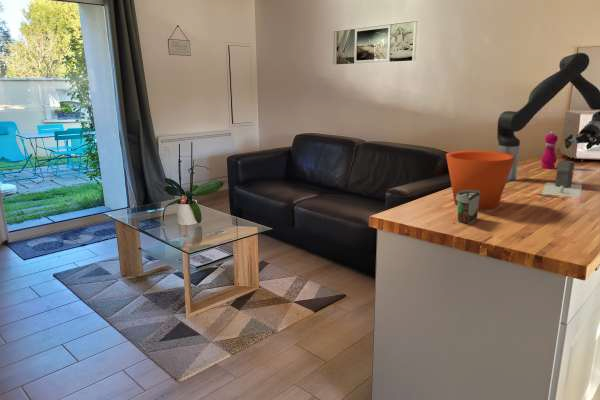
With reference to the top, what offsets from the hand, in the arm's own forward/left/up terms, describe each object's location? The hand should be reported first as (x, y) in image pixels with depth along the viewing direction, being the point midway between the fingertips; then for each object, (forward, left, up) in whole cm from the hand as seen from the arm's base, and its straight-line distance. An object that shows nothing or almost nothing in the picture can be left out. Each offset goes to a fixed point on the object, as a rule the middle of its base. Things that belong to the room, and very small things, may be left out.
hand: (576, 147), depth 201 cm
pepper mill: (+9, +37, -17) cm, 42 cm away
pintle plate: (-14, -15, -17) cm, 27 cm away
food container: (-69, -51, -17) cm, 87 cm away
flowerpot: (-57, -31, -17) cm, 67 cm away
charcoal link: (-10, -10, -16) cm, 21 cm away
